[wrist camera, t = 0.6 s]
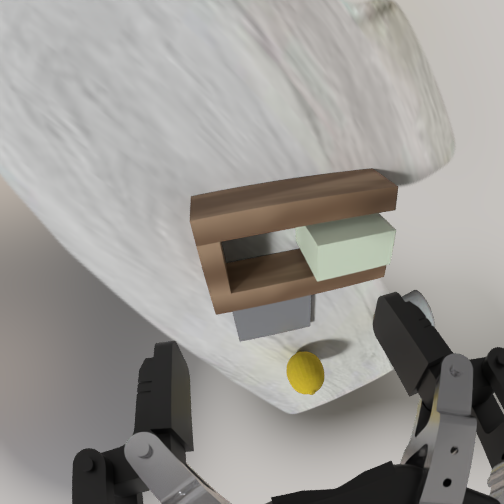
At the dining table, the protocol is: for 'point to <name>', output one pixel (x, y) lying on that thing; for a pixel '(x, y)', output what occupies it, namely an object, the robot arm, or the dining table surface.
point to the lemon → (305, 372)
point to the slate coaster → (273, 318)
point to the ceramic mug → (420, 304)
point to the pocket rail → (275, 219)
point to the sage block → (346, 245)
